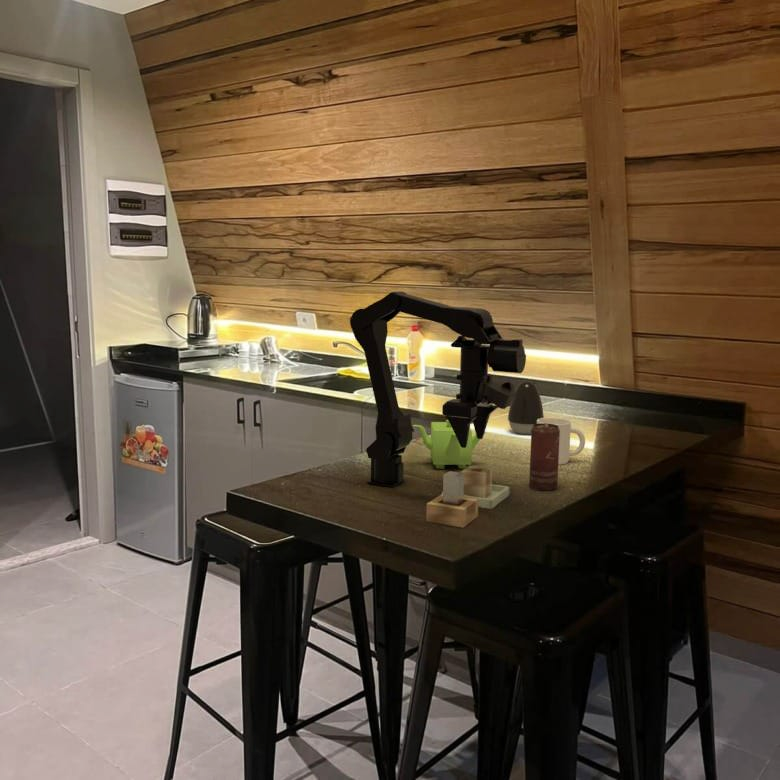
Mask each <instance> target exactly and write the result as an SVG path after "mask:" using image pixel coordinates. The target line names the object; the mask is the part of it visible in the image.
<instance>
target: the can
mask: <svg viewBox="0 0 780 780" xmlns="http://www.w3.org/2000/svg"><path fill="white" fill-rule="evenodd" d="M559 438H560V430H559V428H558V426H557V425H554V424H547V423H541V424H534V425H533V428H532V429H531V434H530V457H529V458H530V460H529V486H530V488H532V489H533V490H536V491H543V492H545V491H547V492H549V491H554V490H556V489H557V487H558V480H559V478H558V477H559V476H558V475H559V465H558V460H559Z"/></svg>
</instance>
